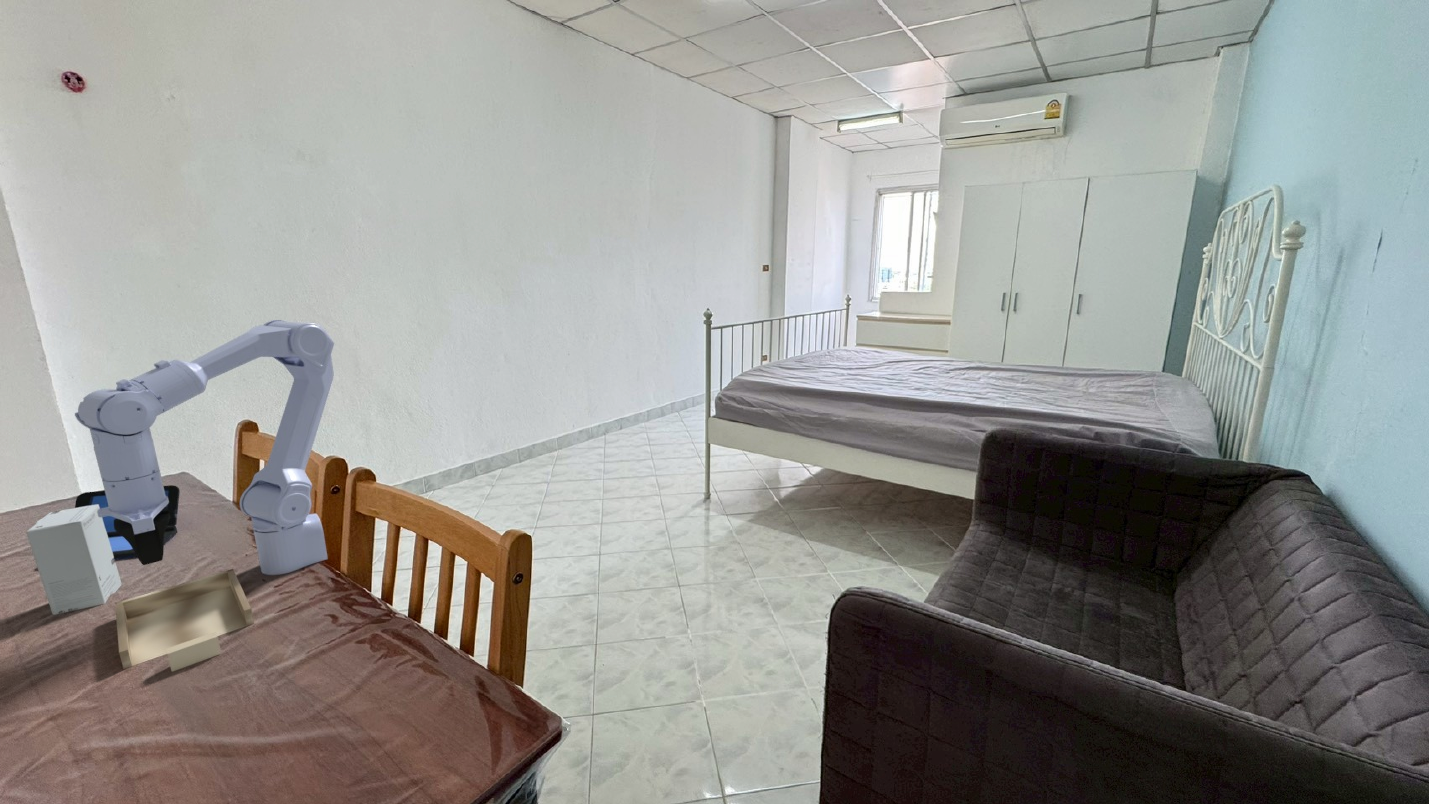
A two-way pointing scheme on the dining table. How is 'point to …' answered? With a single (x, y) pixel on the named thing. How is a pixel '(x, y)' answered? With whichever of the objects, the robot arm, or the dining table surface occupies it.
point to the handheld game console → (117, 541)
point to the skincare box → (74, 559)
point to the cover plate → (193, 651)
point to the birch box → (180, 616)
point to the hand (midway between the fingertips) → (152, 561)
